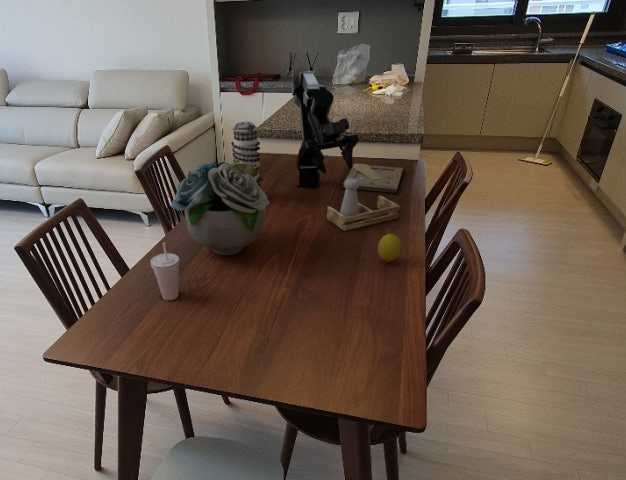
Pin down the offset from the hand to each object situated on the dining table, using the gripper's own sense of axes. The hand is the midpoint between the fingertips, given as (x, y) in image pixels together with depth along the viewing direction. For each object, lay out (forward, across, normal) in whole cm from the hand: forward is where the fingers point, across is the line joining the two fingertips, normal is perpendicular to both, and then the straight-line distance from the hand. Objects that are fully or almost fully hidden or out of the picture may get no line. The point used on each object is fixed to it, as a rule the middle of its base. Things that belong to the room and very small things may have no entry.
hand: (338, 170), depth 138 cm
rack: (+15, +5, +4) cm, 16 cm away
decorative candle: (-7, -20, +26) cm, 34 cm away
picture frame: (-4, +28, +23) cm, 37 cm away
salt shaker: (+15, 0, +4) cm, 16 cm away
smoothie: (+26, -60, -7) cm, 66 cm away
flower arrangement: (+15, -40, +4) cm, 43 cm away
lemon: (+33, -6, -14) cm, 36 cm away
